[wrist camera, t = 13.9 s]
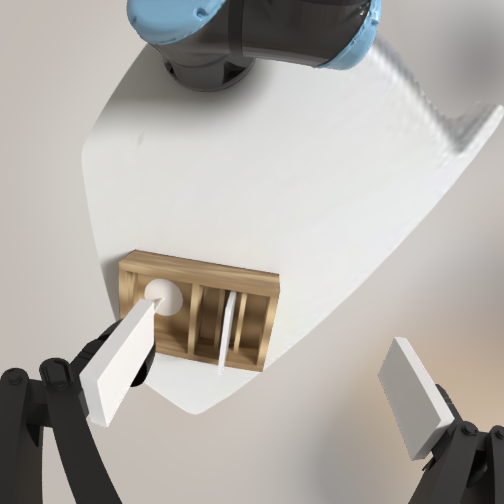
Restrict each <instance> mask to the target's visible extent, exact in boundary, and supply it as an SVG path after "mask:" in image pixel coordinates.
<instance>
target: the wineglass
mask: <svg viewBox="0 0 504 504" xmlns="http://www.w3.org/2000/svg"><path fill="white" fill-rule="evenodd" d="M144 296H145V300H150V301H154V314H155V313H158V314H160V315H164V316H171V315H174V314H176V313H177V312H178V311H179V310H180V309H181V307H182V304H183V297H182V293H181V291H180V290H179V288H178V287H177V286H176V285H175V284H174V283H172V282H171V281H169V280H165V279H155V280H153V281H151V282H150V283H149V284H148V285H147V286H146V289H145V294H144ZM123 319H124V318H122V319H120V320H119V321H117V322H115V323H114V324H112V325H111V326H110V327H109V328H108V329H107V330H106V331H104V332H103V333H102V334H101V335H100V336H99V338H98V340H101V341H106V340H107V339H108V338H109V336H110V335H111V334H112V333H113V331H114V330H115V329H116V328H117V327H118V325H119V324H120V323H121V322H122V320H123ZM155 352H156V339H155V336H154V344H153V346H152V348H151V350H150V351H149V353H148V355H147V357H146V358H145V360H144V362H143V364H142V366H141V367H140V369H139V371H138V373H137V374H136V376H135V378H134V380H133V382H132V383H131V385H130V387H135V386H138V385H140V384H142V383H143V382H144V380H145V379H146V377H147V375H148V373H149V370H150V368H151V365H152V363H153V360H154V357H155Z"/></svg>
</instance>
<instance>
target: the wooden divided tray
mask: <svg viewBox="0 0 504 504" xmlns="http://www.w3.org/2000/svg"><path fill="white" fill-rule="evenodd" d="M155 279H165V280H169V281H171V282H172V283H174V284H175V285H176V286H177V287H178V288H179V290H180V291H181V293H182V297H183V304H182V307H181V309H180V310H179V311H178V312H177V313H176V314H174V315H171V316H164V315H160V314H158V313H155V314H154V336H155V339H156V352H157V353H162V354H166V355H170V356H175V357H180V358H184V359H189V360H194V361H199V362H204V363H210V364H215V365H218V364H219V356H220V348H221V341H222V333H223V325H224V318H225V310H226V307H227V303H228V299H229V296H230V292H231V290H232V291H237V295H236V302H235V309H234V315H233V322H232V329H231V336H230V341H229V346H228V351H227V355H226V360H225V365H224V366H226V367H232V368H238V369H245V370H251V371H258V372H262V371H263V367H264V362H265V358H266V354H267V349H268V345H269V340H270V336H271V331H272V327H273V322H274V317H275V313H276V308H277V303H278V298H279V294H280V283H279V274H275V273H269V272H263V271H257V270H251V269H245V268H239V267H233V266H227V265H221V264H215V263H209V262H203V261H197V260H191V259H185V258H179V257H174V256H168V255H162V254H157V253H151V252H145V251H140V250H134V251H133V252H131V253H130V254H129V255H127V256H126V257H125V258H124V259H122V260H121V261H120V262H119V310H120V319H122V318H125V317H126V316H127V314H128V313H129V312H130V311H131V310H132V308H133V307H134V306H135V305H136V304H137V302H138V301H139V300H140V299H145V296H144V294H145V289H146V286H147V285H148V284H149V283H150V282H151V281H153V280H155Z"/></svg>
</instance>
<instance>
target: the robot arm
mask: <svg viewBox="0 0 504 504" xmlns="http://www.w3.org/2000/svg"><path fill="white" fill-rule="evenodd" d="M127 16H128V19H129V21H130V24H131V25H132V26H133V28H134V29H135V30H136V31H137V33H138V34H139V35H140V37H141V38H142V39H143V40H144V41H146V42H148V43H150V44H151V45H152V46H153V47H155V48H156V49H157V50H158V51H159V52H161V53H162V54H163V60H164V64H165V66H166V68H167V70H168V72H169V73H170V75H171V76H172V77H173V78H174V79H175V80H176V81H178V82H179V83H180V84H182V85H183V86H185V87H187V88H189V89H192V90H196V91H202V92H212V91H218V90H222V89H225V88H228V87H230V86H232V85H234V84H236V83H237V82H238V81H240V80H241V79H242V78H243V77H244V76H245V75H246V74H247V73H248V72H249V71H250V69H251V68H252V66H253V64H254V62H255V59H256V58H261V59H269V60H276V61H283V62H290V63H296V64H302V65H307V66H311V67H313V68H329V69H336V70H347V69H350V68H352V67H354V66H356V65H357V64H358V63H359V62H360V61H361V60H362V59H363V58H364V56H365V55H366V53H367V52H368V50H369V48H370V47H371V45H372V43H373V40H374V38H375V35H376V32H377V30H376V26H377V25H378V23H379V21H380V16H381V0H128V1H127ZM153 344H154V301H150V300H145V299H140V300H139V301H138V302H137V304H136V305H135V306H134V307H133V308H132V310H131V311H130V312H129V313H128V314H127V316H126V317H125V318H124V319H123V320H122V322H121V323H120V324H119V325H118V327H117V328H116V329H115V330H114V331H113V333H112V334H111V335H110V336H109V338H108V339H107V340H106V341H101V340H98V339H95V340H93V341H91V342H89V343H87V345H86V346H85V347H84V348H83V349H82V351H81V352H80V353H79V354H78V355H77V356H76V357H75V359H74V360H73V361H72V362H71V363H70V364H69V363H68V362H67V361H66V360H64V359H61V358H50V359H47V360H45V361H44V362H43V363H42V364H41V365H40V368H39V372H40V375H41V379H42V381H40V380H33V379H29V377H28V374H27V373H26V371H24V370H23V369H20V368H11V369H9V370H7V371H5V372H4V373H3V375H2V376H1V379H0V504H43V500H42V446H43V429H44V427H51V428H53V432H54V436H55V440H56V443H57V447H58V450H59V454H60V457H61V461H62V464H63V467H64V470H65V473H66V476H67V479H68V482H69V485H70V488H71V491H72V493H73V496H74V498H75V501H76V504H122V502H121V500H120V498H119V497H118V494H117V492H116V490H115V488H114V486H113V484H112V482H111V480H110V478H109V476H108V473H107V471H106V469H105V467H104V465H103V462H102V460H101V457H100V455H99V452H98V450H97V448H96V445H95V443H94V440H93V438H92V435H91V432H90V429H89V427H88V424H87V421H86V417H87V416H88V414H89V416H90V419H91V422H92V423H95V424H98V425H101V426H103V427H106V428H107V427H108V426H109V424H110V422H111V420H112V418H113V416H114V414H115V412H116V411H117V409H118V407H119V405H120V403H121V401H122V400H123V398H124V396H125V394H126V392H127V390H128V389H129V387H130V385H131V383H132V382H133V380H134V378H135V376H136V374H137V373H138V371H139V369H140V367H141V366H142V364H143V362H144V360H145V358H146V357H147V355H148V353H149V351H150V350H151V348H152V346H153ZM378 377H379V379H380V382H381V384H382V386H383V388H384V391H385V393H386V396H387V398H388V400H389V403H390V406H391V408H392V411H393V413H394V416H395V418H396V421H397V423H398V426H399V428H400V431H401V434H402V437H403V439H404V442H405V445H406V447H407V450H408V452H409V455H410V458H411V460H418V459H425V457H426V456H427V455H428V454H429V452H430V451H432V454H433V457H432V458H431V460H430V461H429V462H428V463H427V464H426V466H425V467H424V468H423V469H422V470H423V471H424V470H425V469H426V470H425V472H424V474H423V476H422V478H421V480H420V483H419V484H418V486H417V488H416V490H415V492H414V494H413V496H412V498H411V499H410V502H409V503H408V504H459V503H460V504H504V427H502V426H497V425H496V426H494V427H493V428H492V429H491V430H490V432H489V433H487V432H479V431H478V428H477V427H476V426H475V425H474V424H472V423H471V422H468V421H463V420H462V418H461V417H460V415H459V413H458V411H457V410H456V408H455V406H454V405H453V404H452V401H451V399H450V398H449V396H448V395H447V393H446V392H445V390H444V389H443V388H442V387H441V386H440V385H438V384H434V382H433V381H432V379H431V377H430V376H429V374H428V372H427V371H426V369H425V368H424V366H423V364H422V363H421V361H420V360H419V358H418V356H417V355H416V353H415V352H414V350H413V349H412V347H411V345H410V344H409V342H408V341H407V339H406V338H402V337H394V339H393V341H392V344H391V346H390V349H389V351H388V354H387V356H386V358H385V360H384V363H383V365H382V367H381V369H380V372H379V374H378Z"/></svg>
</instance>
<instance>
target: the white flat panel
mask: <svg viewBox="0 0 504 504" xmlns="http://www.w3.org/2000/svg"><path fill="white" fill-rule="evenodd" d="M236 295H237V291H232V290H231V292H230V296H229V299H228V303H227V307H226V310H225V318H224V325H223V333H222V341H221V348H220V356H219V364H218V372H217V375H221V376H222V374H223V369H224V365H225V360H226V355H227V351H228V346H229V341H230V336H231V329H232V322H233V315H234V309H235V302H236Z"/></svg>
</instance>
